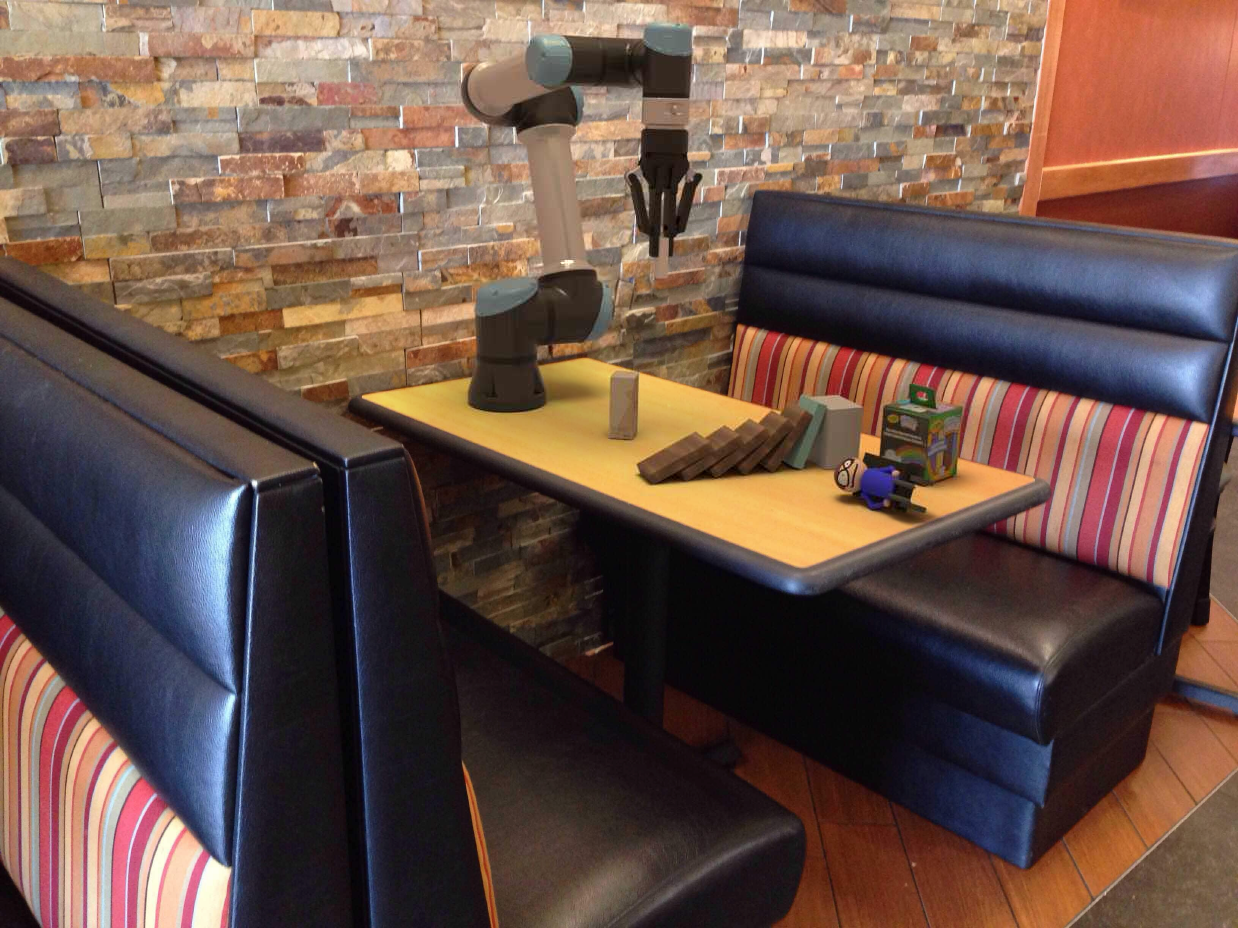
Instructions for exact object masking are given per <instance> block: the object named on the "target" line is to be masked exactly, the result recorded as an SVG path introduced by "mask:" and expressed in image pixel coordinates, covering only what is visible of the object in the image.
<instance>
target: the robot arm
mask: <svg viewBox="0 0 1238 928" xmlns="http://www.w3.org/2000/svg"><path fill="white" fill-rule="evenodd" d="M643 31H644V32H643V37H642V38H629V37H628V38H627V37H608V36H586V35H585V36H583V35H567V34H559V33H547V34H536V35H533V36H532V38H531V39H530V41H529V43H528V44H527V46H526V50H524V51H521V52H519V53H516V54H514V55H512V56H510V57H507V58H506V59H505V58H504V59H502V60H501V61H495V60H487V61H483V62H481V63H479V64H476V65H474V66H472V67H471V68H470V69H469V70H468V71H467V72H466V73H465V74H464V77H463V79H462V81H461V85H460V96H461V100H462V103H463V105H464V107H465V109H466V110H467V111H468V113H469V114H470V115H471V116H472V117H474V118H475V119H476V120H478V121H479V122H481V123H484V124H486V125H489V126H492V127H501V128H515V132H516V140H517V141H518V142H519V144H522V145H523V146H524V147H525V149H526V154H527V155H526V156H527V161H528V162H527V163H528V168H529V175H530V181H531V182H530V183H531V188H532V196H533V202H534V203H533V204H534V209H535V217H536V225H537V230H538V231H537V232H538V240H539V246H540V252H541V259H542V267H543V268H542V270H541V272H540V273H539V274H538V276H536V278H537V280H536V279H534V278H533V277H527V276H526V277H525V276H520V277H518V276H517V277H506V278H499V279H496V280H491V281H488V282H485V283H484V284H482V285H481V286H479V287H478V289H477V290H476V292H475V304H474V305H475V306H474V310H473V311H474V316H475V319H474V320H475V351H476V352H475V353H476V355H475V356H476V357H475V358H476V360H475V367H474V370H473V373H472V376H471V380H470V383H469V386H468V389H467V403H468V404H469V405H470V406H472V407H474V408H476V409H480V410H484V411H491V412H522V411H530V410H534V409H538V408H541V407H543V406H545V405H546V403H547V388H546V385H545V381H544V379H543V375H542V373H541V370H540V367H539V364H538V347H543V346H554V345H565V344H566V345H567V344H575V343H577V344H583V343H585V342H593V341H598V340H600V339H601V338H603V336H604V335H605V334H606V333H607V331H608V330H609V328H610V327H609V326H610V324H611V323H612V322H611V321H612V318H613V317H612V316H613V307H614V304H613V303H614V302H613V294H612V290H611V289H610V288H609V284H608V283H607V282H605V281H603V280H601V279H598V273H597V269H596V267H593V266H592V265H591V264H589V262H588V259H587V251H586V244H585V237H584V231H583V222H582V217H581V215H582V214H581V210H580V202H579V197H578V188H577V182H576V181H577V180H576V175H575V174H576V173H575V168H574V162H573V159H574V158H573V154H572V153H573V152H572V147H571V145H572V144H571V140H572V139H573V138H574V137H575V135H576V133H577V128H576V127H578V126H579V125H580V123H582V120H583V117H584V112H585V111H584V109H583V108H585V98H584V92H583V88H582V87H599V88H600V87H601V88H603V87H604V88H621V89H630V90H632V89H633V90H634V89H637V88H642V90H641V91H642V94H641V97H642V101H641V121H640V123H641V125H644V128H642V130H641V133H640V158H639V160H638V163H637V167H636V168H634V169H632V170H631V171H630V172H628V171H627V172H625V173H624V174H623V177H624V180H625V181H626V183H627V185H628V186H629V191H630V195H631V201H632V205H633V209H634V214H635V215H634V216H635V220H636V221H635V222H636V225H637V230H638V232H640V233H642V234H645V235H647V236H648V255H649V257H652V258H653V264H652V265H653V269H652V270H653V271H652V276H653V277H654V278H657V279H668V278H669V277H668V275H669V274H668V273H669V258H670V257H671V258H672V257H673V255H674V244H675V238H676V237H677V235H680V234H683V233H685V231H686V229H687V225H688V221H689V219H690V218H689V217H690V214H691V209H692V206H693V202H694V198H695V194H696V190H697V188H698V186H699V184H700V182H701V181H702V180H703V173H700V172H696V171H695V170H694V169H692V168H691V163H690V161H689V159H688V154H689V153H688V152H689V136H690V135H689V133H690V132H689V131H688V129H686V126H688V125H689V124H690V110H691V109H690V106H691V103H690V102H691V99H690V97H691V96H690V94H691V85H692V65H693V64H692V63H693V53H694V48H693V44H692V43H693V33H692V31H693V30H692V28H691V26H690V25H689V24H688V23H685V22H678V21H677V22H675V21H654V22H648V23H647V24H646V25H645V27H644V30H643ZM642 177H643V178H644V180H645V181H646V183H647V184H648V185H647V187H648V189H647V190H648V195H649V197H648V198H649V199H648V210H647V205H646V199H645V194H644V190H643V186H642V184H641V182H643V179H642ZM683 178H684V179H683ZM682 180H684V184H683V187H682V191H681V195H680V199H679V203H678V207H677V195H678V192H679V184H680V183H681V181H682ZM662 196H663V197H662ZM662 199H663V201H662ZM662 202H663V203H662ZM662 204H663V212H662ZM662 213H663V219H662ZM661 223H663V224H661ZM661 229H662V230H661ZM661 231H662V234H663V235H661Z"/></svg>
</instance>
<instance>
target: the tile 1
mask: <svg viewBox="0 0 1238 928" xmlns="http://www.w3.org/2000/svg"><path fill="white" fill-rule="evenodd" d="M712 452H714V450H713V447H712V445H711V442H710V441H709V440H707V439H706V438H705V436H703V435H702V434H700V433H698V432H697V431H694V432H692V433H691V434H690V433H689V435H687V436H685V437H683V438H681V439H679V440H678V441H676V442H674V443H672V444H670V445H668V446H667V447H664V448H663V449H662V450H661V449H660V450H659V451H658V452H655V453H654V454H652V455H650V456H648V457H646V458H644V459H643V460H640V461H639V462H637V463H636V464H635V465H636V467H637V468H638V472H639V473H640V475H641V476H642V477H644V478H645V479H646V480H647V481H649V483H651V484H652V485H653V486H654V485H656V484H658V483H659V482H661V481H663V480H665V479H666V478H669V477H670V476H672V475H673V474H676V472H677V471H679V470H681V469H683V468H685V467H686V466H688V465H690V464H692V463H694V462H696V461H697V460H699V459H701V458H703V457H705V456H706V455H708V454H710V453H712Z"/></svg>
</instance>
